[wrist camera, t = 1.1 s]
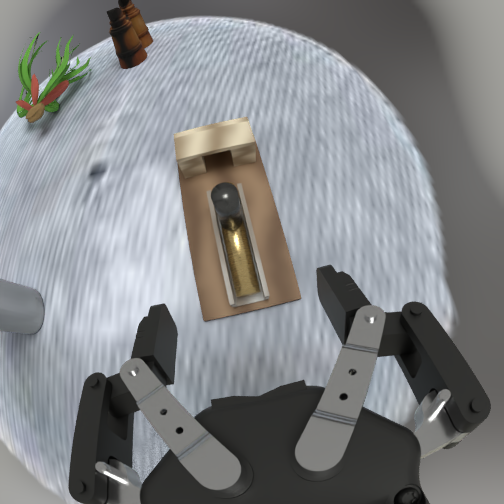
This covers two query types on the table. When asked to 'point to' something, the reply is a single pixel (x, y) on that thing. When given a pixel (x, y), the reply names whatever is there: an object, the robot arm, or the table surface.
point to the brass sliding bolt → (235, 239)
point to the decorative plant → (51, 90)
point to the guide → (253, 212)
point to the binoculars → (129, 34)
